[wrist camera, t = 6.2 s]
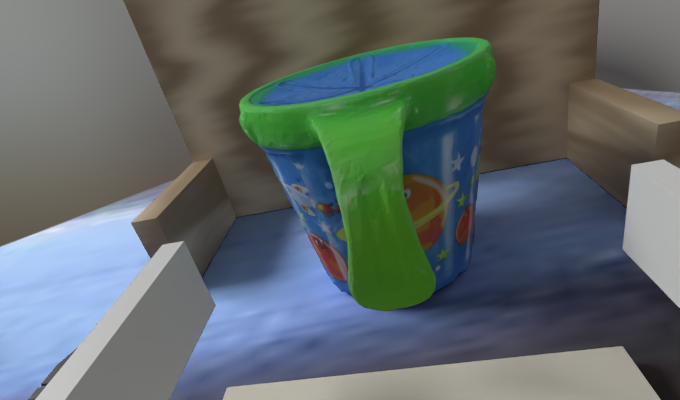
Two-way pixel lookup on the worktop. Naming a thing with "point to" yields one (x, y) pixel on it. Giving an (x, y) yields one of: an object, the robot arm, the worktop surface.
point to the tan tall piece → (368, 35)
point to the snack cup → (382, 162)
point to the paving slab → (477, 381)
